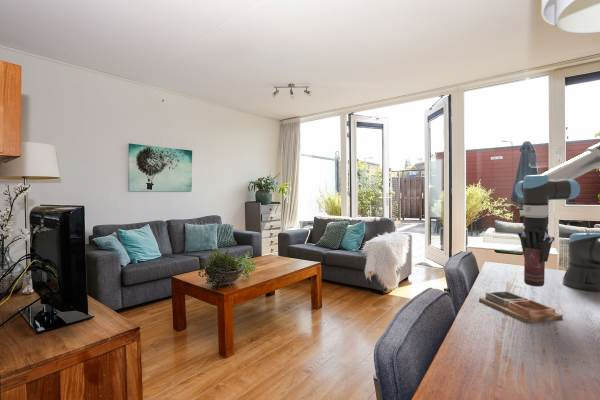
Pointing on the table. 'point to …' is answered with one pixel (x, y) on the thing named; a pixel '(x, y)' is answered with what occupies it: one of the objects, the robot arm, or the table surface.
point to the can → (533, 267)
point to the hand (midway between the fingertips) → (535, 278)
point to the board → (520, 307)
